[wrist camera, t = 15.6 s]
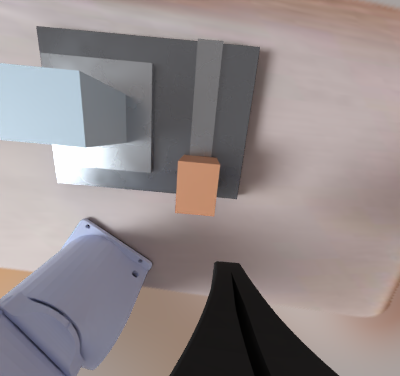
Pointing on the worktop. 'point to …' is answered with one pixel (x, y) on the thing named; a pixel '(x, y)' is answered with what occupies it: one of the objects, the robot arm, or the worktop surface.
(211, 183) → the lever
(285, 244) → the worktop surface
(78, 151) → the base
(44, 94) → the housing block
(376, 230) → the worktop surface
